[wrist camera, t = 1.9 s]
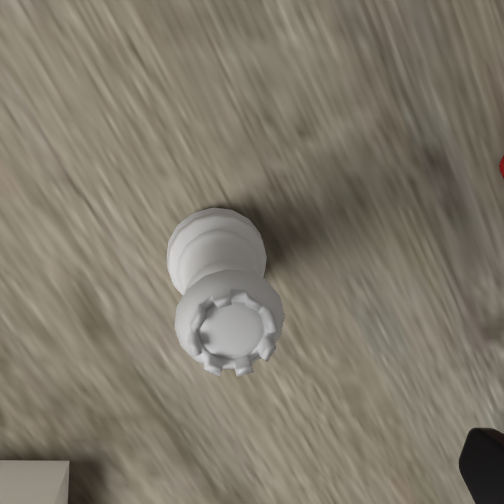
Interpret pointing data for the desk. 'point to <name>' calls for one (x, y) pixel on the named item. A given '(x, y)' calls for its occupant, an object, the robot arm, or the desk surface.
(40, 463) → the off-white block
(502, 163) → the cell phone
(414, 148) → the desk surface
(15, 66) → the desk surface
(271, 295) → the rook chess piece
